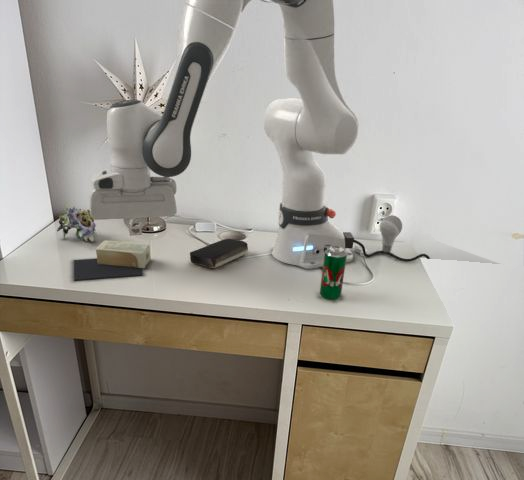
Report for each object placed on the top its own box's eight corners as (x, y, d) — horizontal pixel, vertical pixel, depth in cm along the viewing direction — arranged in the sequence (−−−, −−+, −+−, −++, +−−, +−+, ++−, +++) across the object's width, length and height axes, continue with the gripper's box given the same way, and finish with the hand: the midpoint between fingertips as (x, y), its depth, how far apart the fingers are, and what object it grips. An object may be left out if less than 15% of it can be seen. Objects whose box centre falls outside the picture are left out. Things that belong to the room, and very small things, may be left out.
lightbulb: (387, 259, 145) (395, 221, 139) (370, 252, 149) (377, 214, 143) (400, 254, 148) (408, 217, 142) (383, 247, 152) (390, 211, 146)
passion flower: (92, 259, 148) (88, 236, 137) (53, 251, 146) (46, 227, 135) (101, 227, 152) (98, 201, 141) (63, 218, 150) (57, 192, 139)
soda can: (338, 291, 126) (345, 245, 119) (342, 301, 122) (349, 253, 115) (318, 291, 126) (324, 244, 119) (320, 300, 121) (326, 252, 115)
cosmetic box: (151, 259, 136) (106, 254, 137) (150, 243, 133) (104, 239, 134) (143, 269, 130) (97, 264, 131) (142, 253, 128) (94, 248, 129)
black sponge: (211, 273, 131) (211, 260, 129) (186, 264, 135) (186, 250, 133) (250, 255, 142) (251, 242, 140) (227, 247, 146) (227, 234, 144)
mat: (137, 256, 138) (137, 255, 137) (142, 275, 128) (142, 274, 128) (74, 261, 133) (73, 260, 133) (74, 280, 124) (74, 279, 123)
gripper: (173, 172, 125) (176, 228, 132) (85, 174, 119) (92, 232, 127) (178, 179, 120) (180, 236, 127) (85, 182, 114) (93, 241, 122)
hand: (135, 234), depth 127 cm, fingers closed
